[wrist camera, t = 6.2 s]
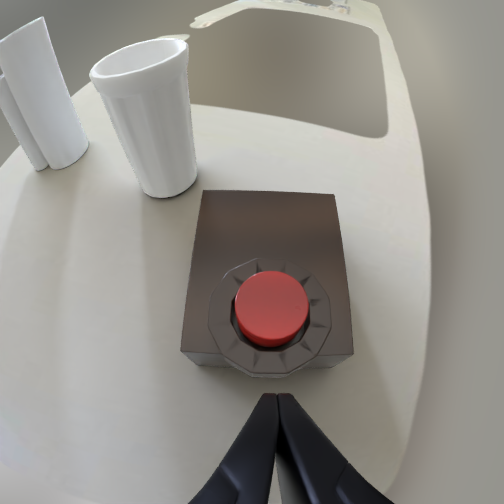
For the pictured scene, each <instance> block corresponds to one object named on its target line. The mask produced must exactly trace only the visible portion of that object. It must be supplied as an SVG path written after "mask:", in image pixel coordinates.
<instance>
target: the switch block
mask: <svg viewBox="0 0 504 504" xmlns="http://www.w3.org/2000/svg"><path fill="white" fill-rule="evenodd" d="M265 271H278V272H282V273H285V274H288V275H290V276H291V277H293V278H294V279H296V280H297V281H298V282H299V283H300V284H301V285H302V287H303V288H304V290H305V292H306V294H307V297H308V302H309V310H308V315H307V318H306V320H305V322H304V324H303V326H302V328H301V329H300V331H299V333H298V334H297V335H296V336H295V338H293V339H292V340H291V341H289V342H288V343H286V344H284V345H281V346H277V347H264V346H260V345H257V344H255V343H253V342H251V341H250V340H248V339H247V338H246V337H245V336H244V335H243V333H242V332H241V330H240V328H239V326H238V323H237V318H236V312H235V298H236V295H237V292H238V290H239V288H240V287H241V285H242V284H243V283H244V282H245V281H246V280H247V279H248V278H250V277H251V276H253V275H255V274H257V273H260V272H265ZM180 351H181V352H182V353H183V354H184V355H186V356H187V357H188V358H189V359H190V360H191V361H192V362H194V363H195V364H196V365H203V366H217V367H235V368H238V369H239V370H241V371H242V372H244V373H246V374H247V375H249V376H251V377H269V378H283V377H286V376H288V375H289V374H291V373H293V372H295V371H296V370H298V369H305V368H332V367H333V366H335V365H337V364H338V363H340V362H342V361H343V360H345V359H347V358H348V357H350V356H351V355H353V354H354V353H353V338H352V325H351V313H350V303H349V293H348V284H347V275H346V267H345V259H344V252H343V245H342V238H341V231H340V225H339V219H338V213H337V207H336V201H335V196H334V194H319V193H301V192H278V191H242V190H203V194H202V199H201V205H200V211H199V216H198V222H197V229H196V235H195V241H194V248H193V254H192V261H191V268H190V275H189V282H188V290H187V297H186V305H185V313H184V322H183V331H182V340H181V350H180Z"/></svg>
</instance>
